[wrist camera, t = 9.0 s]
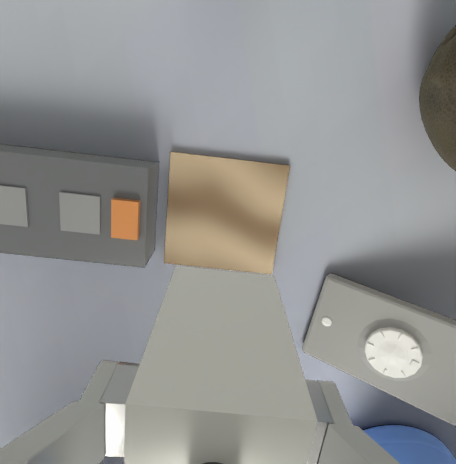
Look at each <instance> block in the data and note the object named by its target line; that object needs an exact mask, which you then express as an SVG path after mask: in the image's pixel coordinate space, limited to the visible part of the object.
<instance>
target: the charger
mask: <svg viewBox="0 0 456 464" xmlns="http://www.w3.org/2000/svg"><path fill="white" fill-rule="evenodd" d="M316 425H317V418H316V414H315V411H314V408H313V404H312V401H311V398H310V394H309V391H308V388H307V384H306V381H305V377H304V374H303V371H302V367H301V364H300V361H299V357H298V354H297V351H296V347H295V344H294V341H293V337H292V334H291V331H290V327H289V324H288V321H287V317H286V314H285V311H284V307H283V304H282V301H281V297H280V294H279V291H278V287H277V284H276V281H275V277H274V276H273V275H264V274H254V273H244V272H235V271H225V270H216V269H206V268H196V267H187V266H177V265H176V266H175V269H174V272H173V275H172V277H171V280H170V283H169V286H168V288H167V291H166V294H165V297H164V299H163V302H162V305H161V307H160V310H159V313H158V316H157V318H156V321H155V324H154V327H153V329H152V332H151V335H150V338H149V340H148V343H147V346H146V349H145V351H144V354H143V357H142V360H141V362H140V365H139V368H138V371H137V373H136V376H135V379H134V382H133V384H132V387H131V390H130V393H129V395H128V398H127V401H126V404H125V440H124V464H307V461H308V457H309V453H310V449H311V445H312V441H313V437H314V433H315V429H316Z"/></svg>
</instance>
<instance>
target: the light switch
mask: <svg viewBox="0 0 456 464" xmlns="http://www.w3.org/2000/svg"><path fill="white" fill-rule="evenodd" d="M366 339H367V340H366ZM302 351H303V352H304V353H306V354H308V355H310V356H312V357H314V358H316V359H319V360H321V361H323V362H325V363H327V364H329V365H331V366H333V367H335V368H337V369H339V370H341V371H343V372H345V373H347V374H349V375H351V376H353V377H355V378H357V379H360V380H362V381H364V382H366V383H368V384H370V385H372V386H374V387H376V388H378V389H380V390H382V391H384V392H386V393H388V394H390V395H392V396H394V397H396V398H398V399H400V400H403V401H405V402H407V403H409V404H411V405H413V406H415V407H417V408H419V409H421V410H423V411H425V412H427V413H429V414H431V415H433V416H435V417H437V418H439V419H441V420H444V421H446V422H448V423H450V424H452V425H454V426H456V320H454V319H451V318H449V317H446V316H443V315H441V314H438V313H435V312H433V311H430V310H427V309H425V308H422V307H420V306H417V305H414V304H412V303H409V302H406V301H404V300H401V299H398V298H396V297H393V296H390V295H388V294H385V293H382V292H380V291H377V290H374V289H372V288H369V287H366V286H364V285H361V284H358V283H356V282H353V281H350V280H348V279H345V278H342V277H340V276H337V275H334V274H332V273H329V274H328V275H327V276H326V278H325V281H324V284H323V287H322V290H321V293H320V296H319V299H318V302H317V305H316V308H315V311H314V314H313V317H312V320H311V323H310V326H309V329H308V332H307V335H306V338H305V341H304V344H303V347H302Z"/></svg>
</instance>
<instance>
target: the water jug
mask: <svg viewBox="0 0 456 464" xmlns="http://www.w3.org/2000/svg"><path fill="white" fill-rule="evenodd" d="M363 431H364V432H365V433H366V434H367V435H368V436H370V437H371V438H372V439H373V440H374V441H375V442H376V443H378V444H379V445H380V446H381V447H382V448H383V449H384V450H385V451H387V452H388V453H389V454H390V455H391V456H392V457H393V458H394V459H396V460H397V461H398V462H399V463H400V464H456V459H455V458H454V456H453V455H452V453H451V452H450V451H449V449H448V448H447V447H446V446H445V445H444V444H443V443H442V442H441V441H440V440H439V439H437V438H436V437H434V436H433V435H431V434H429V433H427V432H425V431H423V430H420V429H417V428H413V427H409V426H401V425H386V426H378V427H373V428H369V429H366V430H363Z"/></svg>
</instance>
